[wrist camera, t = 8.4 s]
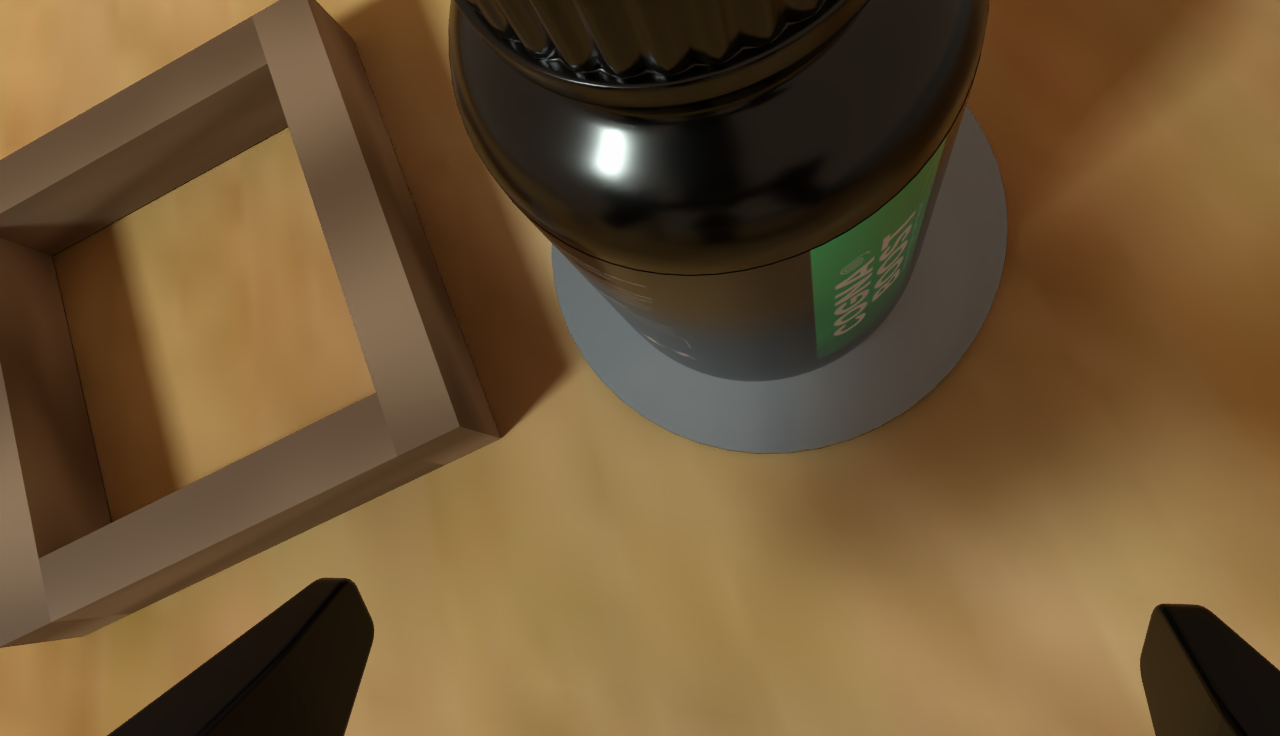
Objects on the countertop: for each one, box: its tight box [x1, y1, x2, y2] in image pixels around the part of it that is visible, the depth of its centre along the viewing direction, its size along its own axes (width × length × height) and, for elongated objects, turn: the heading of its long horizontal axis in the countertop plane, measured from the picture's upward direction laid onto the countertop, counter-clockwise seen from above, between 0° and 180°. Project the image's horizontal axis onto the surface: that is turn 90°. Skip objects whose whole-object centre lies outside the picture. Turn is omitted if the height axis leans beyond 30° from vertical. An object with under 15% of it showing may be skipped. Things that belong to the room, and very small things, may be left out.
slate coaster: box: [552, 106, 1008, 454], centre depth 18 cm, size 10×10×1 cm
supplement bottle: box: [448, 0, 989, 382], centre depth 12 cm, size 7×7×12 cm
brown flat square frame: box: [0, 0, 501, 648], centre depth 20 cm, size 12×12×2 cm
